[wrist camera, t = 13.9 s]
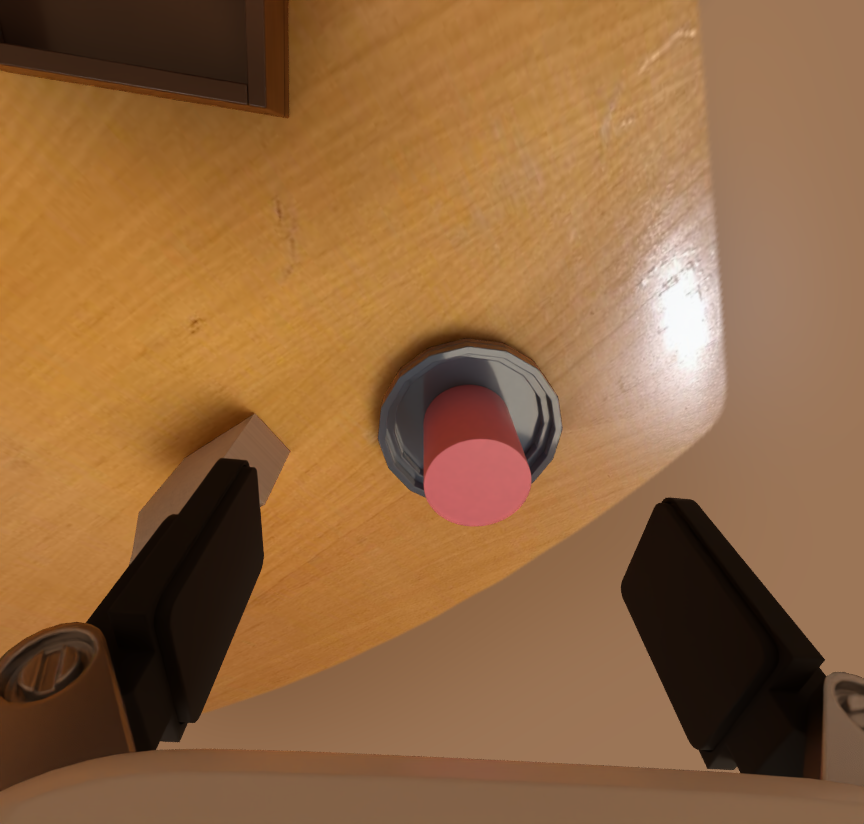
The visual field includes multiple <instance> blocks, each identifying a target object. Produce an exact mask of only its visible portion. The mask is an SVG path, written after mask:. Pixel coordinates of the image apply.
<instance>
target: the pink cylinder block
mask: <svg viewBox="0 0 864 824" xmlns="http://www.w3.org/2000/svg"><path fill="white" fill-rule="evenodd" d="M423 431H424V492H425V496H426V499H427V501H428V503H429V504H430V506H431V507H432V508H433V510H434V511H435V512H436V513H438V514H439V515H440V516H441V517H443V518H444V519H446V520H448V521H450V522H453V523H456V524H460V525H465V526H484V525H490V524H493V523H496V522H499V521H502V520H504V519H506V518H507V517H509V516H510V515H512V514H513V513H514V512H516V511H517V510H518V509H519V508H520V507H521V506H522V504H523V503H524V502H525V500H526V498H527V496H528V494H529V491H530V487H531V472H530V468H529V465H528V462H527V460H526V457H525V454H524V451H523V449H522V446H521V443H520V440H519V438H518V435H517V432H516V429H515V427H514V424H513V421H512V419H511V416H510V413H509V410H508V408H507V406H506V404H505V402H504V401H503V400H502V399H501V397H500V396H498V395H497V394H496V393H495V392H493V391H491V390H489V389H487V388H485V387H482V386H477V385H460V386H456V387H453V388H450V389H448V390H446V391H444V392H442V393H441V394H439V395H438V396H437V397H436V398H435V399H434V400H433V401H432V402H431V404H430V405H429V407H428V408H427V411H426V413H425V417H424V424H423Z"/></svg>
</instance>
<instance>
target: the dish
mask: <svg viewBox="0 0 864 824" xmlns="http://www.w3.org/2000/svg"><path fill="white" fill-rule="evenodd" d="M460 385H477V386H482V387H485V388H487V389H489V390H491V391H493V392H495V393H496V394H497V395H498V396H500V397H501V399H502V400H503V401H504V402H505V404H506V406H507V408H508V410H509V413H510V416H511V419H512V421H513V424H514V427H515V429H516V432H517V435H518V438H519V440H520V443H521V446H522V449H523V451H524V454H525V457H526V460H527V462H528V465H529V468H530V472H531V484H532V483H533V482H534V481H535V480H536V479H537V477H538V476H539V475H540V474H541V473H542V471H543V470H544V469H545V468H546V467H547V465H548V464H549V463H550V462H551V461H552V460H553V458H554V454H555V451H556V448H557V445H558V442H559V438H560V435H561V432H562V421H561V414H560V407H559V400H558V396H557V394H556V393H555V391H554V390H553V388H552V386H551V385H550V383H549V382H548V381H547V379H546V378H545V376H544V375H543V373H542V372H541V370H540V369H539V368H538V366H537V365H536V363H535V362H534V361H533V360H532V359H530V358H528V357H527V356H525V355H523V354H521V353H520V352H518V351H516V350H515V349H513V348H511V347H510V346H508V345H506V344H504V343H500V342H492V341H485V340H477V339H469V338H466V339H461V340H457V341H453V342H449V343H445V344H441V345H437V346H433V347H430V348H428V349H426V350H425V351H423V352H422V353H421V354H419V355H418V356H417V357H415V358H414V359H412V360H411V361H410V362H408V363H407V364H406V365H404V366H403V367H401V368H400V370H399V371H398V373H397V374H396V376H395V378H394V379H393V381H392V383H391V385H390V386H389V388H388V390H387V391H386V393H385V395H384V396H383V399H382V405H381V412H380V422H379V432H378V441H379V444H380V446H381V449H382V452H383V455H384V457H385V460H386V463H387V466H388V468H389V469H390V470H391V471H392V472H393V473H394V474H395V475H396V476H397V477H398V478H399V479H400V481H401V482H402V483H403V484H404V485H405V486H406V487H407V488H408V489H409V490H410V491H412V492H415V493H417V494H419V495H421V496H423V497H426V496H425V492H424V431H423V424H424V417H425V413H426V411H427V408H428V407H429V405H430V404H431V402H432V401H433V400H434V399H435V398H436V397H437V396H438V395H439V394H441V393H442V392H444V391H446V390H448V389H450V388H453V387H456V386H460Z"/></svg>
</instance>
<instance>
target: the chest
mask: <svg viewBox="0 0 864 824" xmlns="http://www.w3.org/2000/svg"><path fill="white" fill-rule="evenodd" d="M0 70H1V71H5V72H10V73H16V74H22V75H28V76H34V77H40V78H46V79H52V80H59V81H65V82H71V83H77V84H83V85H89V86H95V87H101V88H107V89H113V90H119V91H125V92H131V93H138V94H144V95H150V96H156V97H162V98H168V99H174V100H180V101H186V102H192V103H198V104H204V105H211V106H217V107H223V108H229V109H235V110H241V111H247V112H253V113H259V114H265V115H271V116H277V117H283V118H288V117H289V46H288V0H0Z"/></svg>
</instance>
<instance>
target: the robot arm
mask: <svg viewBox="0 0 864 824" xmlns="http://www.w3.org/2000/svg"><path fill="white" fill-rule="evenodd" d="M263 559H264V551H263V538H262V525H261V513H260V500H259V487H258V474H257V469H256V468H255V467H250V466H249V462H248V461H247V460H240V459H229V458H220V459H219V460H218V461H217V462H216V463H215V464H214V466H213V467H212V469H211V470H210V471H209V473H208V474H207V475H206V477H205V478H204V480H203V481H202V482H201V484H200V485H199V486H198V488H197V489H196V490H195V492H194V493H193V495H192V496H191V497H190V499H189V500H188V501H187V503H186V504H185V506H184V507H183V508H182V510H181V511H180V512H179V514H172V515H169V516H168V517H167V518H166V519H165V520H164V521H163V522H162V523H161V525H160V526H159V527H158V528H157V530H156V531H155V532H154V534H153V535H152V536H151V538H150V539H149V540H148V542H147V543H146V544H145V546H144V547H143V548H142V550H141V551H140V552H139V553H138V555H137V556H136V557H135V559H134V560H133V561H132V563H131V564H130V565H129V567H128V568H127V569H126V571H125V572H124V573H123V575H122V576H121V577H120V579H119V580H118V581H117V582H116V584H115V585H114V586H113V588H112V589H111V590H110V592H109V593H108V594H107V596H106V597H105V598H104V600H103V601H102V602H101V604H100V605H99V606H98V607H97V609H96V610H95V611H94V613H93V614H92V615H91V617H90V618H89V619H88V621H87V622H86V623H81V622H73V623H64V624H59V625H56V626H52V627H49V628H46V629H43V630H41V631H39V632H37V633H35V634H33V635H31V636H29V637H27V638H25V639H24V640H22V641H21V642H19V643H18V644H17V645H15V646H14V647H12V648H11V649H10V650H8V651H7V652H6V653H5V654H4V655H3V656H2V657H1V658H0V824H864V678H862V677H860V676H857V675H853V674H849V673H845V672H834V673H831V674H830V675H828V676H826V675H825V674H824V673H823V672H822V670H821V669H820V668H819V667H820V665H821V664H822V663H823V662H824V661H825V659H824V658H823V657H822V655H821V654H820V653H819V652H818V651H817V650H816V648H815V647H814V646H813V645H812V643H811V642H810V641H809V640H808V638H806V636H805V635H804V634H803V632H802V631H801V630H800V629H799V628H798V626H797V625H796V624H795V623H794V621H793V620H792V619H791V618H790V616H789V615H788V614H787V613H786V612H785V610H784V609H783V608H782V607H781V605H780V604H779V603H778V602H777V601H776V599H775V598H774V597H773V596H772V594H771V593H770V592H769V591H768V590H767V588H766V587H765V586H764V585H763V583H762V582H761V581H760V580H759V579H758V577H757V576H756V575H755V574H754V572H752V570H751V569H750V568H749V566H748V565H747V564H746V563H745V561H744V560H743V559H742V558H741V557H740V555H739V554H738V553H737V552H736V551H735V549H734V548H733V547H732V546H731V544H730V543H729V542H728V541H727V540H726V538H725V537H724V536H723V535H722V533H721V532H720V531H719V530H718V529H717V527H716V526H715V525H714V524H713V522H712V521H711V520H710V519H709V518H708V516H707V515H706V514H705V513H704V511H703V510H702V509H701V508H700V506H699V505H698V504H697V503H696V502H695V501H693V500H690V499H679V498H665V499H664V500H663V501H662V503H658V504H657V505H656V506H655V508H654V510H653V512H652V514H651V516H650V519H649V521H648V523H647V525H646V528H645V530H644V532H643V534H642V537H641V539H640V541H639V544H638V546H637V548H636V551H635V553H634V555H633V557H632V559H631V562H630V564H629V566H628V569H627V571H626V574H625V576H624V578H623V580H622V584H621V593H622V597H623V600H624V602H625V604H626V606H627V608H628V610H629V612H630V615H631V617H632V619H633V621H634V623H635V625H636V628H637V630H638V632H639V634H640V636H641V639H642V641H643V643H644V645H645V647H646V649H647V651H648V654H649V656H650V658H651V660H652V662H653V664H654V666H655V669H656V671H657V673H658V675H659V678H660V680H661V682H662V684H663V686H664V688H665V690H666V692H667V695H668V697H669V699H670V701H671V703H672V705H673V707H674V710H675V712H676V714H677V717H678V719H679V721H680V723H681V725H682V727H683V729H684V732H685V734H686V736H687V738H688V740H689V742H690V744H691V745H692V746H693V747H694V748H696V749H697V750H699V752H700V754H701V756H702V758H703V760H704V762H705V764H706V767H707V769H724V770H734V769H735V768H736V767H738V768H739V771H740V773H729V772H712V771H694V770H675V769H658V768H640V767H620V766H604V765H584V764H562V763H545V762H524V761H505V760H484V759H483V760H482V759H464V758H463V759H462V758H444V757H422V756H421V757H420V756H399V755H376V754H354V753H331V752H309V751H275V750H237V749H236V750H235V749H175V750H156V748H157V746H158V744H159V742H160V741H165V742H180V740H181V737H182V735H183V733H184V730H185V728H186V726H187V723H195V722H196V721H197V720H198V718H199V716H200V715H201V713H202V710H203V708H204V705H205V703H206V701H207V698H208V696H209V694H210V691H211V689H212V686H213V684H214V682H215V679H216V677H217V674H218V672H219V670H220V667H221V665H222V662H223V660H224V658H225V655H226V653H227V650H228V648H229V646H230V643H231V641H232V639H233V636H234V634H235V631H236V629H237V627H238V624H239V622H240V619H241V617H242V615H243V612H244V610H245V607H246V605H247V603H248V600H249V598H250V595H251V593H252V591H253V588H254V586H255V584H256V581H257V579H258V576H259V574H260V572H261V569H262V565H263Z"/></svg>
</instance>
